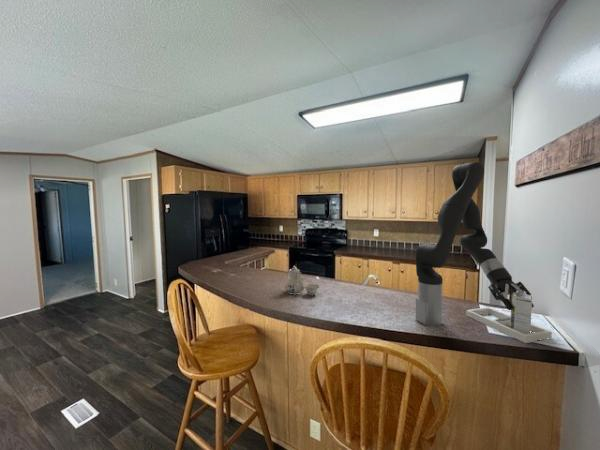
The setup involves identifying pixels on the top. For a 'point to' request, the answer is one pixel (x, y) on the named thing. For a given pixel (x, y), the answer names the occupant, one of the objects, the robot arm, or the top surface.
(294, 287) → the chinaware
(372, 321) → the top surface
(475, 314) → the two-slot holder
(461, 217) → the robot arm
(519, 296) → the syrup box
